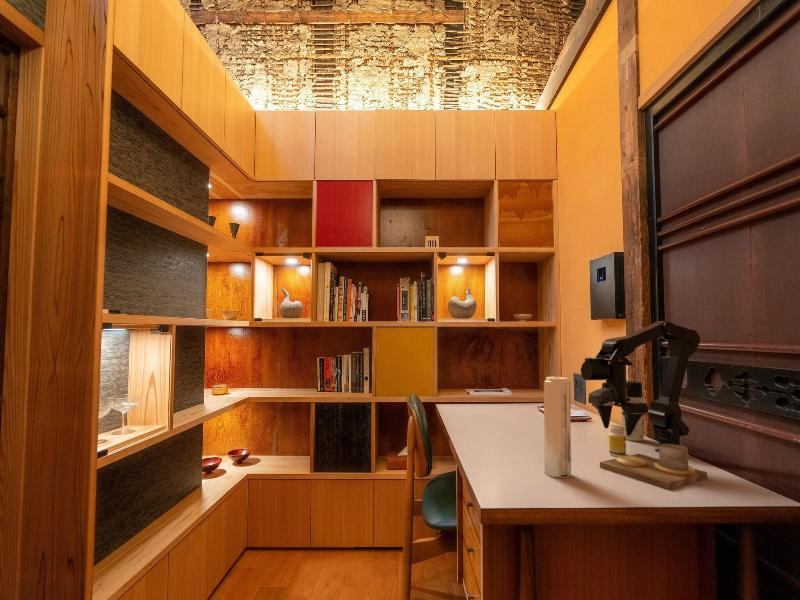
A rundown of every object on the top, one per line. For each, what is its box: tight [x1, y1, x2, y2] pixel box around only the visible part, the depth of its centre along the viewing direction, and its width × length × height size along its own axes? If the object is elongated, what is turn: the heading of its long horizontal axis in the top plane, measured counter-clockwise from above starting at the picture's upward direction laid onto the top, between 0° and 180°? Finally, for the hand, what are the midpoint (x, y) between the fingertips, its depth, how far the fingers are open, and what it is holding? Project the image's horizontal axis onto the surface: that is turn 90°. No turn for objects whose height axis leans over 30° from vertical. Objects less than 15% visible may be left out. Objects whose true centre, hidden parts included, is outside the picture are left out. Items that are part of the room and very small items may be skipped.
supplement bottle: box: [607, 424, 627, 458], centre depth 128 cm, size 5×5×8 cm
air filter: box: [543, 376, 572, 479], centre depth 110 cm, size 6×6×25 cm
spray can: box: [621, 380, 645, 442], centre depth 148 cm, size 7×7×20 cm
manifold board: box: [599, 443, 708, 490], centre depth 112 cm, size 18×18×7 cm
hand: (617, 431), depth 129 cm, fingers open, 9 cm apart
